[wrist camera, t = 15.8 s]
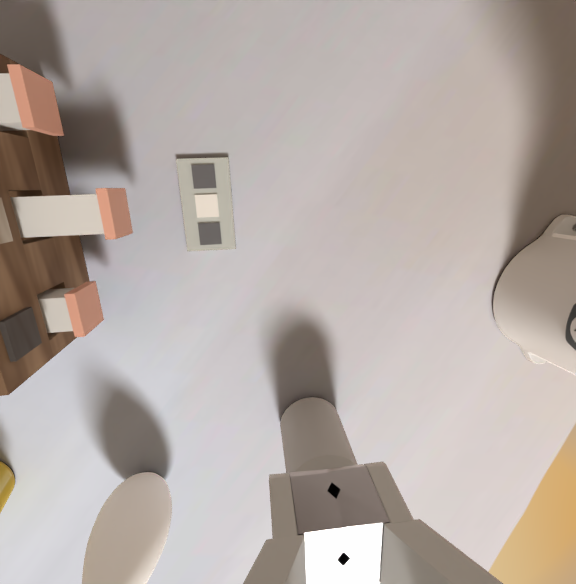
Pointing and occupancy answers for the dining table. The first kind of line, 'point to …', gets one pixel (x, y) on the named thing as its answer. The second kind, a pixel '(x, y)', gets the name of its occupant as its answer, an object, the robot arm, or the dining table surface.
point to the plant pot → (5, 484)
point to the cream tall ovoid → (129, 532)
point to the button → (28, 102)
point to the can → (314, 437)
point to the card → (206, 203)
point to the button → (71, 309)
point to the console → (31, 254)
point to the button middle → (74, 214)
